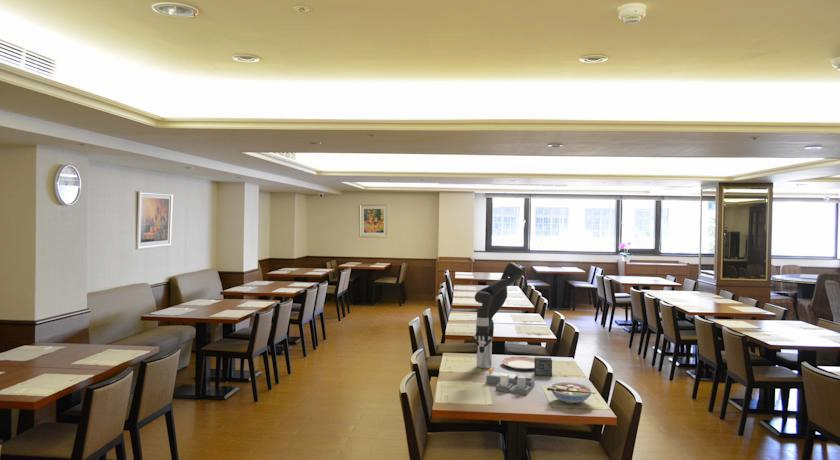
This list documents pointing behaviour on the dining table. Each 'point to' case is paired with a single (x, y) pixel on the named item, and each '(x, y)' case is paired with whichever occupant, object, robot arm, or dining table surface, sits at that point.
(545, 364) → the small box
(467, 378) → the dining table surface
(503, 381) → the white jaw block
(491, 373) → the lid
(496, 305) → the robot arm
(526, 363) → the dinner plate
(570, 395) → the ramen bowl
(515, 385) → the housing
